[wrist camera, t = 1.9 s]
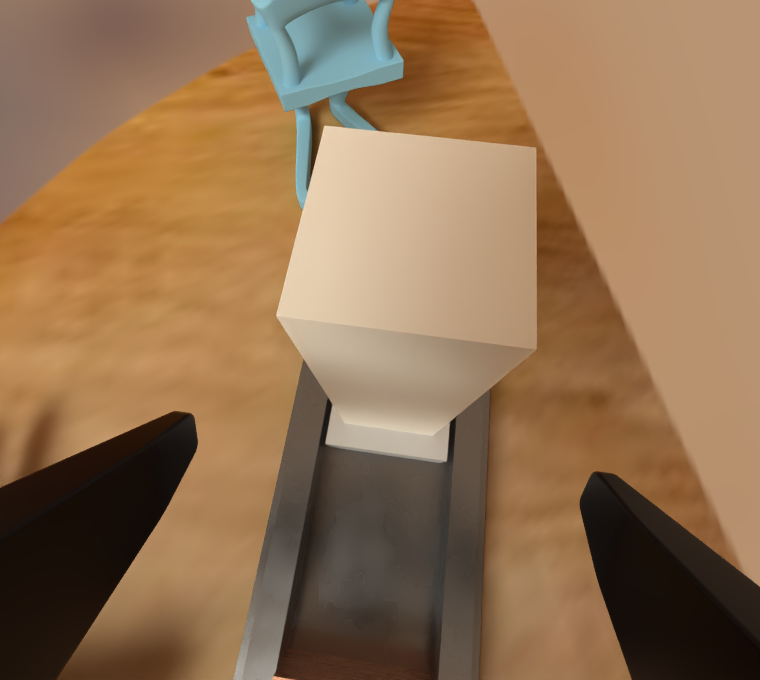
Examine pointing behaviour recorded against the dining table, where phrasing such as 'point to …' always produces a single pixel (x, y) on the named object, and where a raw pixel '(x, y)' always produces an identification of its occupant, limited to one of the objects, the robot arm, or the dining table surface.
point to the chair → (323, 60)
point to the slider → (412, 282)
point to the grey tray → (370, 557)
